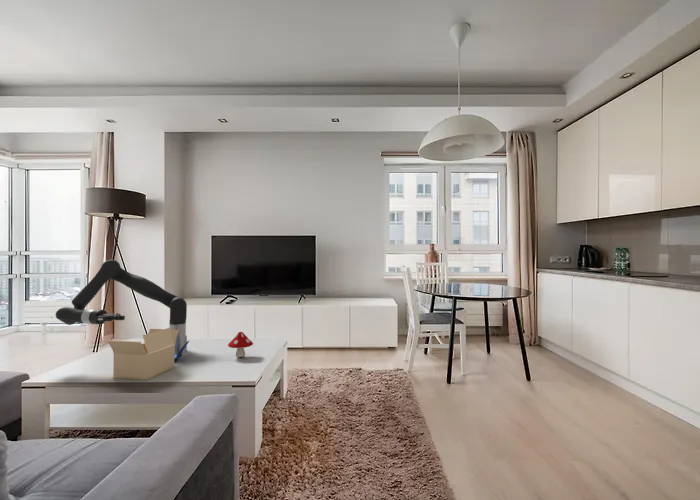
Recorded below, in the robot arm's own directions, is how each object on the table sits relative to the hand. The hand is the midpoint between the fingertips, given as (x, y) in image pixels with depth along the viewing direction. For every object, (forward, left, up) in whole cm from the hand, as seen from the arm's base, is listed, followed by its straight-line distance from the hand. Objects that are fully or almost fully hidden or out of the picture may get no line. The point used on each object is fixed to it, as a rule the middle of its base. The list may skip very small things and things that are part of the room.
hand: (123, 317), depth 185 cm
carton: (-8, +10, -27) cm, 30 cm away
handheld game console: (-26, -7, -27) cm, 38 cm away
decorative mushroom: (-56, +14, -27) cm, 64 cm away
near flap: (-13, +16, -10) cm, 23 cm away
